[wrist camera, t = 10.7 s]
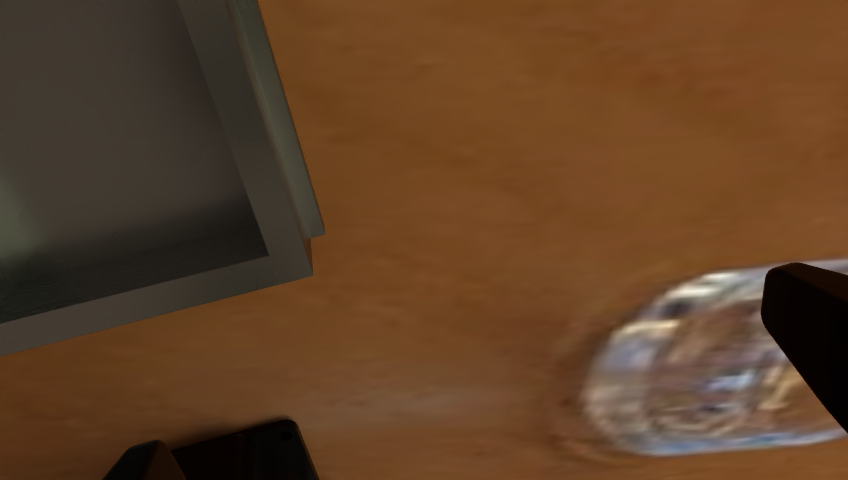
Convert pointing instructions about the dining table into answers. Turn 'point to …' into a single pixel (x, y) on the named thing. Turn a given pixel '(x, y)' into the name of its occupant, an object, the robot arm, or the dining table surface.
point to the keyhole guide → (142, 164)
